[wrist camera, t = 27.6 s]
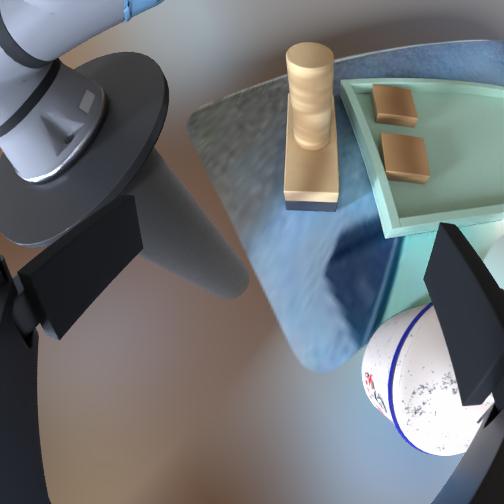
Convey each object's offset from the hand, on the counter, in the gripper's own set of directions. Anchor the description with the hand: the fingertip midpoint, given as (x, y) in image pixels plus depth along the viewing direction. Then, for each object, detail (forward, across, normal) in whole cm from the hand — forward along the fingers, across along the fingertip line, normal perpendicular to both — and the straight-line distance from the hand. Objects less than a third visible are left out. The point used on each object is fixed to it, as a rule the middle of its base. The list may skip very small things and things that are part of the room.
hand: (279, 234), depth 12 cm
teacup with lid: (+4, +12, -13) cm, 18 cm away
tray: (+19, +18, +2) cm, 26 cm away
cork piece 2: (+16, +9, 0) cm, 18 cm away
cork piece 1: (+20, +8, +5) cm, 22 cm away
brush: (+16, +1, 0) cm, 16 cm away
